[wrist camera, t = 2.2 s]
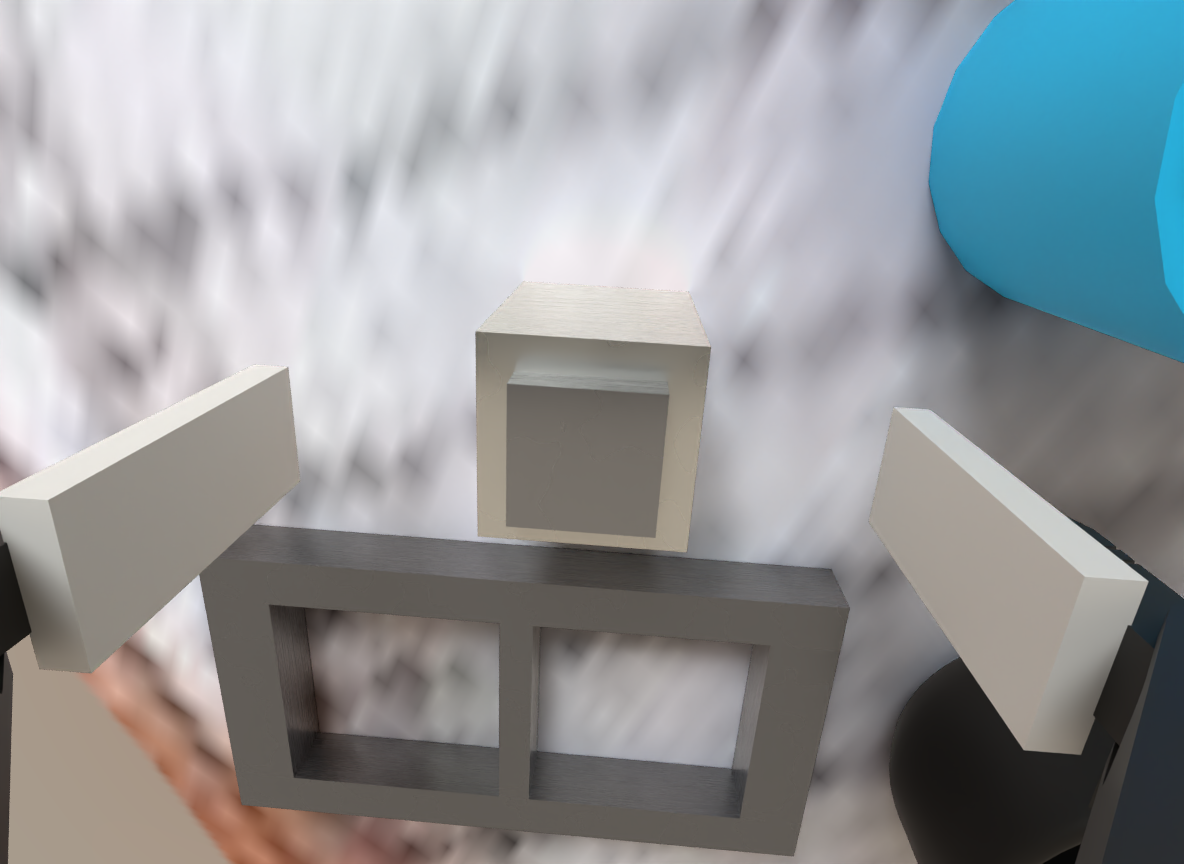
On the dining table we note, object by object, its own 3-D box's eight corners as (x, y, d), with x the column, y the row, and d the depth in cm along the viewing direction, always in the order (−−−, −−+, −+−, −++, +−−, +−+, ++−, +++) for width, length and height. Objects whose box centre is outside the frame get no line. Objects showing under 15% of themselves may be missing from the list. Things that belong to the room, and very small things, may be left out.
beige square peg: (523, 281, 19) (465, 341, 12) (689, 291, 19) (715, 358, 12) (521, 434, 20) (469, 555, 14) (673, 444, 20) (689, 573, 14)
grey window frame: (232, 523, 22) (195, 556, 20) (831, 569, 21) (849, 608, 20) (270, 758, 26) (241, 804, 24) (782, 804, 25) (793, 856, 23)
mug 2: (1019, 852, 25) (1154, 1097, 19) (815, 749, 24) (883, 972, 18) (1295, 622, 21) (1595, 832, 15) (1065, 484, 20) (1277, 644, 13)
